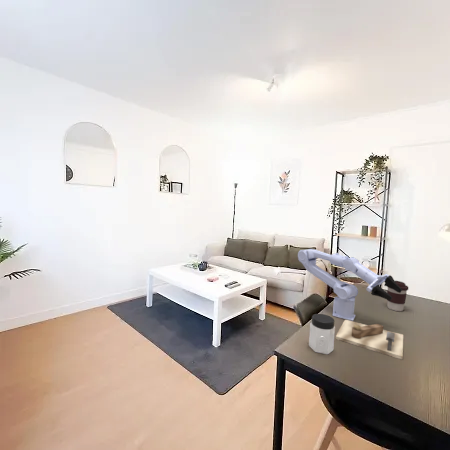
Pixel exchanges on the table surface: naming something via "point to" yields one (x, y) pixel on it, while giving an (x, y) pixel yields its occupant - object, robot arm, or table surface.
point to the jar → (322, 333)
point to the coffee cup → (397, 297)
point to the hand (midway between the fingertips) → (396, 295)
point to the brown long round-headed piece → (367, 330)
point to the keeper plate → (373, 340)
